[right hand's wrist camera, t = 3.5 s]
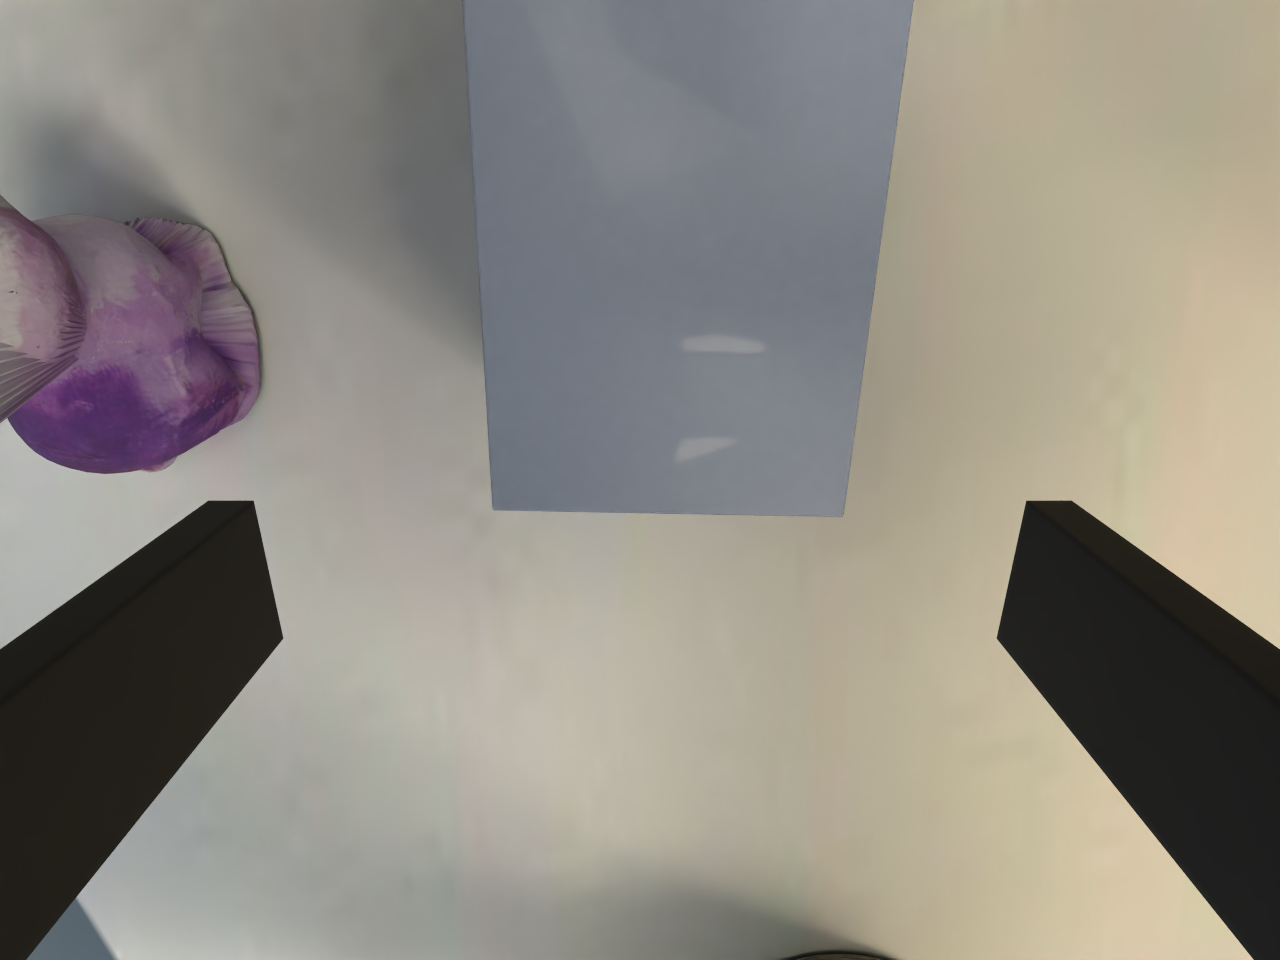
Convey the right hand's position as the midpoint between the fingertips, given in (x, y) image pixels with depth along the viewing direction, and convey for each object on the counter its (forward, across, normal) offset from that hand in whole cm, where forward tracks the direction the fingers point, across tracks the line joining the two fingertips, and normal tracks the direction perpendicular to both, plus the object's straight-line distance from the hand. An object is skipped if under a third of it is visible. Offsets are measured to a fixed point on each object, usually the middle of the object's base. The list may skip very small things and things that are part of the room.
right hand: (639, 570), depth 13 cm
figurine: (+21, +21, -1) cm, 30 cm away
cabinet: (+21, -1, -5) cm, 22 cm away
